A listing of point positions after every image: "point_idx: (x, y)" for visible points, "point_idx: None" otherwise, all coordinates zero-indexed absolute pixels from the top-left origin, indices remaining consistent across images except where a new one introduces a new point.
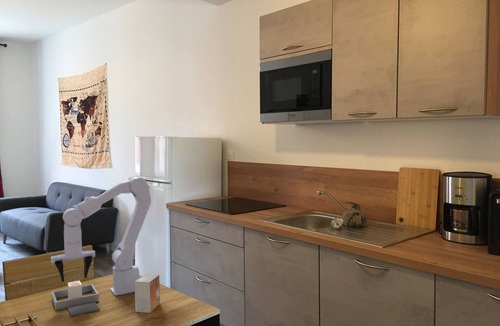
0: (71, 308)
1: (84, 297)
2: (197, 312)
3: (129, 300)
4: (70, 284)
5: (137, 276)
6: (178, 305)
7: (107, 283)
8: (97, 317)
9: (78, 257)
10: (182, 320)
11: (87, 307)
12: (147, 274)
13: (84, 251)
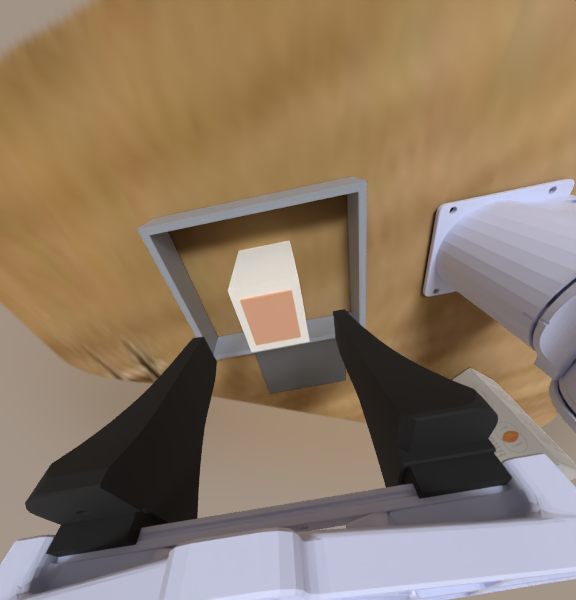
0: (267, 358)
1: (311, 340)
2: None
3: (442, 340)
4: (251, 332)
5: None
6: (518, 394)
7: (472, 51)
8: (333, 403)
9: (335, 525)
10: None
11: (314, 364)
12: (561, 468)
13: (479, 577)
